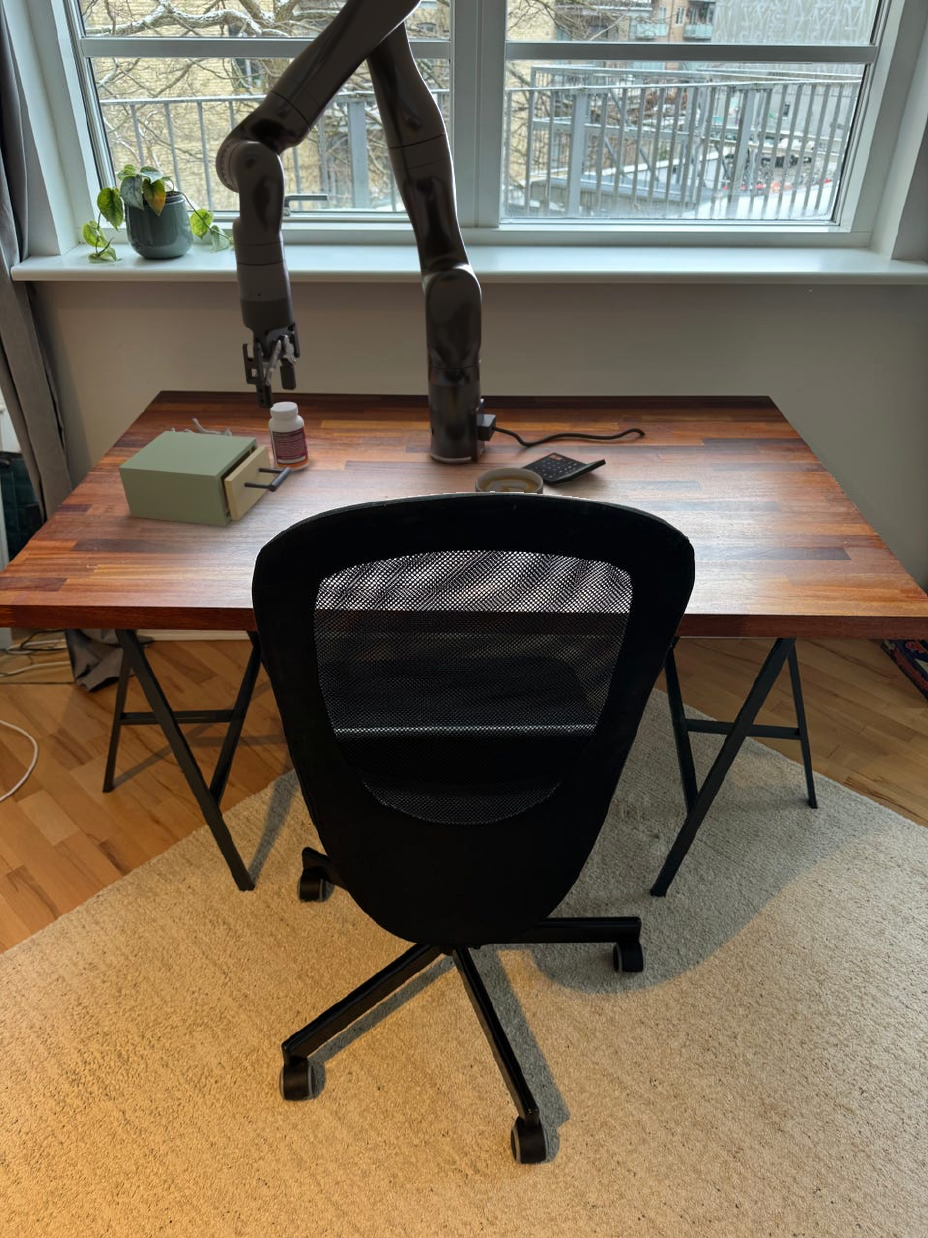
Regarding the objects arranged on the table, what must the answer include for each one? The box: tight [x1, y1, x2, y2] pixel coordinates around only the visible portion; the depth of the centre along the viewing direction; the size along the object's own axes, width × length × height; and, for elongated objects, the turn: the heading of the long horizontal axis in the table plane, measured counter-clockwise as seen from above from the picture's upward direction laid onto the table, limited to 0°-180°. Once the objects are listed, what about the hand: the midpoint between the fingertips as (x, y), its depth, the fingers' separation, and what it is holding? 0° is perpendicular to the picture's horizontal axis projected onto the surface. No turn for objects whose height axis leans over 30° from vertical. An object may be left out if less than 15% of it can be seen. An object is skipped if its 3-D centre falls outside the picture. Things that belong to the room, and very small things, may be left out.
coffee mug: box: [474, 467, 544, 495], centre depth 133 cm, size 13×10×10 cm
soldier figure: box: [170, 417, 233, 436], centre depth 166 cm, size 8×5×12 cm
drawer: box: [219, 444, 293, 521], centre depth 145 cm, size 21×14×7 cm, turn 76°
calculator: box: [521, 452, 607, 487], centre depth 152 cm, size 9×12×3 cm
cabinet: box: [117, 430, 259, 527], centre depth 146 cm, size 17×15×9 cm
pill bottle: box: [267, 401, 310, 472], centre depth 156 cm, size 6×6×11 cm
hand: (278, 398), depth 140 cm, fingers open, 8 cm apart
